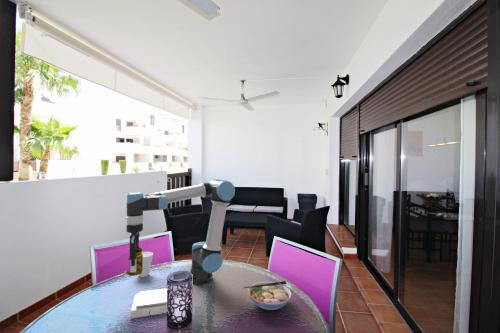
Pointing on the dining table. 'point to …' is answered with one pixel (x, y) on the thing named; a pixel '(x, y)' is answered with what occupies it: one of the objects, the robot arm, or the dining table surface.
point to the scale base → (146, 309)
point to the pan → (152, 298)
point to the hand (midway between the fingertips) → (134, 268)
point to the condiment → (137, 264)
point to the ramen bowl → (269, 294)
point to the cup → (146, 263)
